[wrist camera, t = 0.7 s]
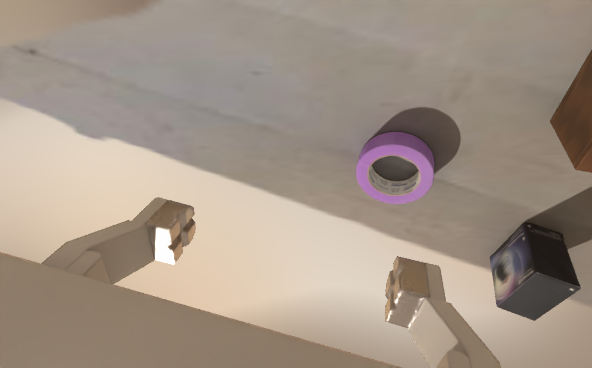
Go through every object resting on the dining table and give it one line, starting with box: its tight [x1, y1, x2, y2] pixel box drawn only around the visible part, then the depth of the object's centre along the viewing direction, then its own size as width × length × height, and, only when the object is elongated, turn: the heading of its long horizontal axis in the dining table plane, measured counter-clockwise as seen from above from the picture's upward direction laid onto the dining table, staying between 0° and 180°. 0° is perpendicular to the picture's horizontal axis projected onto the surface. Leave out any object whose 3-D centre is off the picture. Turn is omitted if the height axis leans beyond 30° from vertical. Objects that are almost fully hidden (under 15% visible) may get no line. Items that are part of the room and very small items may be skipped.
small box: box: [490, 222, 581, 321], centre depth 53 cm, size 11×6×10 cm, turn 171°
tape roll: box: [356, 132, 434, 204], centre depth 53 cm, size 12×12×4 cm
